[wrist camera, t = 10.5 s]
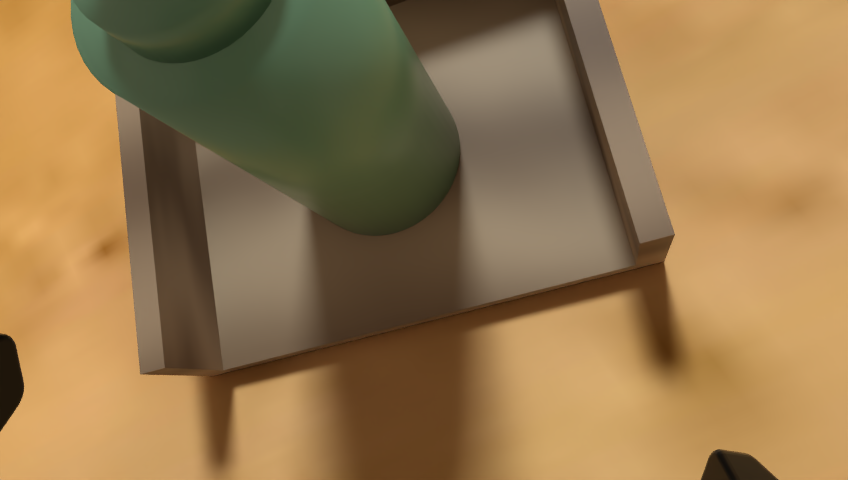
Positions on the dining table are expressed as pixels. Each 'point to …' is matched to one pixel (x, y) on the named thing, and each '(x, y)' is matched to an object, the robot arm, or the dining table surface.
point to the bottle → (287, 97)
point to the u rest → (427, 240)
